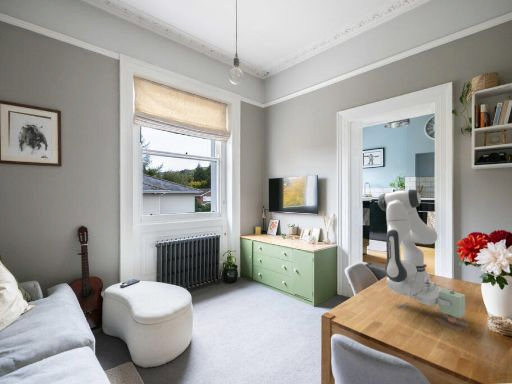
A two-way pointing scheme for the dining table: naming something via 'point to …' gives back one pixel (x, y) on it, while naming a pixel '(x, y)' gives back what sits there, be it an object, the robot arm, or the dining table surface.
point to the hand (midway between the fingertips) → (454, 302)
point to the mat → (403, 305)
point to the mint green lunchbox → (452, 303)
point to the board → (444, 320)
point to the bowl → (452, 319)
